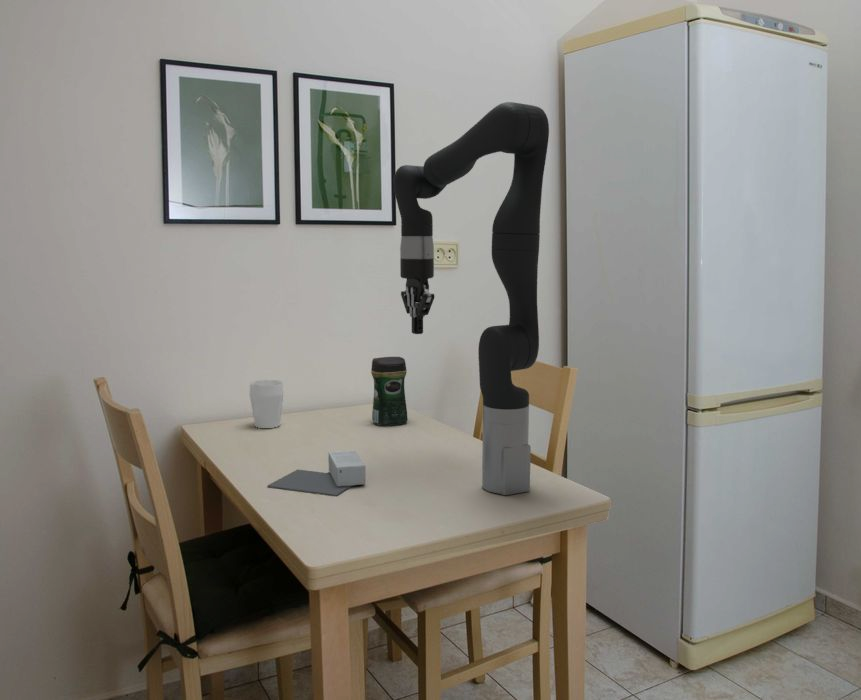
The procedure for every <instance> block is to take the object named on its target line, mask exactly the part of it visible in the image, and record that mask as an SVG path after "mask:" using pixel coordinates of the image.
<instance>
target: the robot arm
mask: <svg viewBox="0 0 861 700" xmlns="http://www.w3.org/2000/svg"><path fill="white" fill-rule="evenodd" d="M549 125H550V124H549V119H548V116H547V114H546V112H545V111H544V109H543V108H541V107H540V106H537V105H532V104H526V103H520V102H518V103H517V102H514V101H511V102H510V101H506V102H502V103H500V104H498V105H496V106H494V107H493V108H492V109H491V110H489V111H488V112H487V113H486V114H485V115H484V116H483V117H482V118H480V120H478V121H477V122H476V124H474V125H473V126H472V127H471V128H469V129H468V130H466V132H464V134H462V135H461V136H460V137H459V138H458V139H456V140H455V141H453V142H452V143H450V144H448V145H447V146H444V147H443V148H441V149H440V150H438V151H436V152H434V153H433V154H431V155H430V156H428V158H426V160H425V161H424V163H423V165H422V166H421V165H410V164H409V165H408V164H406V165H405V164H404V165H401V166H399V168H397V170H396V171H395V173H394V176H393V181H392V182H393V183H392V184H393V187H392V188H393V191H394V196H395V200H396V203H397V208H398V211H399V216H400V219H401V221H400V228H401V229H400V230H401V232H400V233H401V237H400V238H401V239H400V247H399V251H400V253H399V254H400V259H399V260H400V261H399V262H400V263H399V264H400V270H399V271H400V274H399V275H400V278H402V279H406V281H405V290H404V291H400V296H401V299H402V302H403V306H404V308H405V311H406V314H407V315H408V314H409V317H410V318H411V333H412V334H414V335H422V334H423V333H424V318H425V316H428V315H429V313H430V310H431V307H432V305H433V303H434V299H435V294H434V293H430V291H429V290H430V285H429V279H433V278H434V276H435V274H434V273H435V269H434V267H435V265H434V264H435V257H434V256H435V247H434V239H433V237H434V236H433V235H434V234H433V231H434V229H433V220H434V219H433V214H432V212H431V211H429V210H428V209H425V208H422V207H421V206H420V204H419V201H418V199H423V200H425V199H428V200H429V199H431V198H434V197H436V196H438V195H439V194H441V192H442V191H443V190H444V189H445V188H446V186H448V185H450V184H451V183H454V182H456V181H457V180H460V179H461V178H463V177H465V176H466V175H468V174H469V172H470V171H472V170H473V168H474V166H475V164H476V162H477V160H479V159H481V158H482V157H485V156H488V155H491V154H495V153H496V154H497V153H501V152H502V153H503V154H504V153H505V154H512V155H513V156H514V157H513V158H514V159H513V160H514V162H513V174H512V180H511V184H510V186H509V189H508V191H507V193H506V195H505V197H504V199H503V200H502V203H501V204H500V205H499V208H498V210H497V211H496V214H495V216H494V220H493V222H492V223H493V224H492V229H491V230H492V231H491V232H492V234H491V236H492V237H491V259H492V263H493V266H494V269H495V271H496V273H497V275H498V277H499V279H500V281H501V284H502V285H503V287H504V289H505V291H506V295H507V297H508V305H509V323H508V324H503V325H492V326H488V327H486V328H485V329H484V330H483V332H482V333H481V335H480V337H479V341H478V353H477V355H478V372H479V388H480V392H481V396H482V451H481V452H482V456H481V457H482V460H481V461H482V463H481V465H482V467H481V468H482V469H481V470H482V473H481V475H482V476H481V477H482V479H481V480H482V481H481V482H482V486H481V487H482V488H483V490H485V491H487V492H489V493H495V494H499V495H502V496H509V495H515V494H520V493H526V492H530V491H531V444H529V428H530V426H529V423H530V422H529V421H530V420H529V419H530V393H529V391H528V390H526V389H525V388H522V387H520V386H516V385H514V383H513V380H512V372H515V371H521V370H526V369H529V368H531V367H533V366H534V364H535V362H536V361H537V358H538V356H539V355H538V354H539V348H540V334H539V333H540V332H539V330H540V328H539V314H538V313H539V312H538V275H539V274H538V270H539V269H538V267H539V266H538V265H539V254H540V239H541V238H540V236H541V225H540V224H541V206H542V194H543V193H542V192H543V183H544V182H543V181H544V173H545V166H546V159H547V155H548V154H547V152H548V148H549V147H548V146H549V137H550V136H549V135H550V127H549Z"/></svg>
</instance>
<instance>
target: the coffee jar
mask: <svg viewBox="0 0 861 700" xmlns="http://www.w3.org/2000/svg"><path fill="white" fill-rule="evenodd" d="M406 363H407V362H406V360H405V358H404V357H401V356H384V357H375V358H372V361H371V368H370V369H371V370H370V373H371V376H372V379H373V385H374V387H373V400H372V402H373V403H372V410H371V411H372V414H371V417H372V418H371V420H372V421H371V422H372V423H373V424H374V425H376V426H378V425H379V426H382V427H383V426H384V427H387V426H389V427H390V426H398V425H404V424H405V423H407V422H408V420H409V419H408V418H409V417H408V410H407V409H408V408H407V401H406V392H405V378H406V375H407V370H408V369H407V364H406Z"/></svg>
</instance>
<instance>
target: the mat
mask: <svg viewBox="0 0 861 700" xmlns="http://www.w3.org/2000/svg"><path fill="white" fill-rule="evenodd" d="M267 486H268V487H267ZM353 486H354V485H352V486H341V487H337V485H336V483H335V481H334V479H333V477H332V475H331V474H330V472H323V471H322V472H321V471H320V472H319V471H313V470H304V469H296V470H294V471H292V472H290V473H288V474H286V475H284V476H282V477H280V478H279V479H277V480H275V481H273V482H271V483H269V484H268V485H266V487H267V488H270V487H274V488H273V489H278V488H282V489H281V490H285V489H291V490H290V491H293V490H299V491H298V492H300V491H306V492H305V493H308V492H312V493H311V494H316V493H319V494H318V495H323V494H325V496H331V495H333V496H332V497H338V496H340V495H341V494H343V493H344V492H346V491H347V490H348V488H349V489H350V488H351V487H353ZM345 490H346V491H345ZM342 492H343V493H342ZM339 494H340V495H339Z"/></svg>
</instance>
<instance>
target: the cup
mask: <svg viewBox="0 0 861 700" xmlns="http://www.w3.org/2000/svg"><path fill="white" fill-rule="evenodd" d="M283 384H284V382H283V381H282V380H276V379H263V380H261V379H260V380H255V381H252V382H249V398H250V403H251V404H250V405H251V410H252V415H253V420H254V426H256V427H255V428H257V427H258V428H257V429H260V428H272V429H275V428H274V427H276V428H279V427H280V426H281V422H282V411H283V403H284V396H285V395H284V393H285V391H284V385H283ZM278 426H279V427H278Z"/></svg>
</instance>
